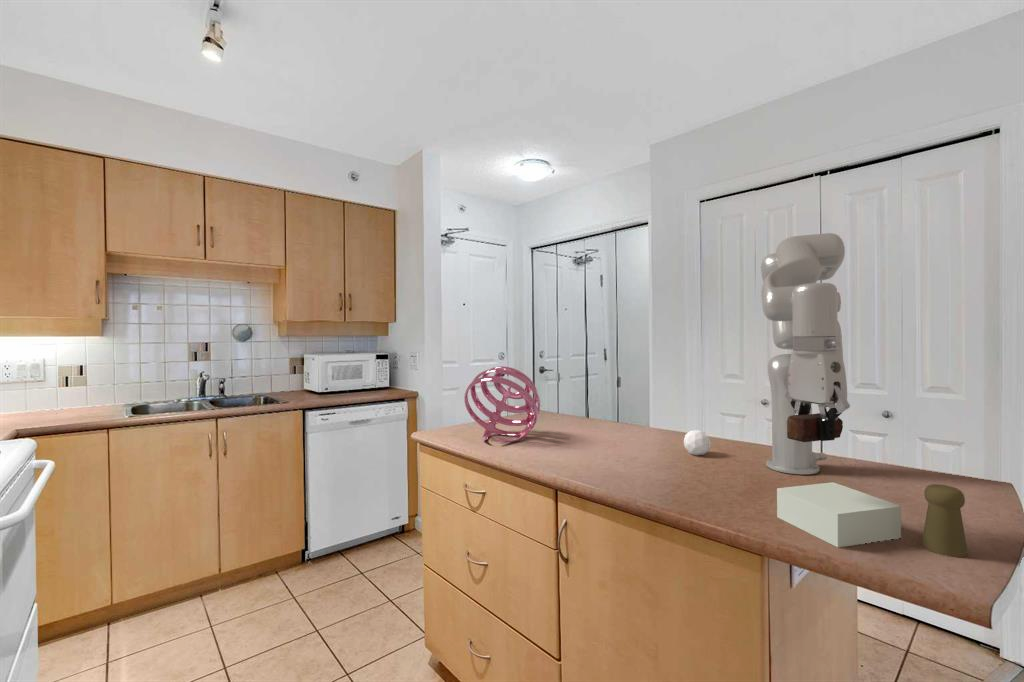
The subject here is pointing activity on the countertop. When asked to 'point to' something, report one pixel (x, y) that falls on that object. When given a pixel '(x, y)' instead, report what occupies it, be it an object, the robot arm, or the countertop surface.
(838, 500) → the sage block
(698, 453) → the ball
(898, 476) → the countertop surface
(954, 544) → the cork
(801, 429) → the brick
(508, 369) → the spiral basket
